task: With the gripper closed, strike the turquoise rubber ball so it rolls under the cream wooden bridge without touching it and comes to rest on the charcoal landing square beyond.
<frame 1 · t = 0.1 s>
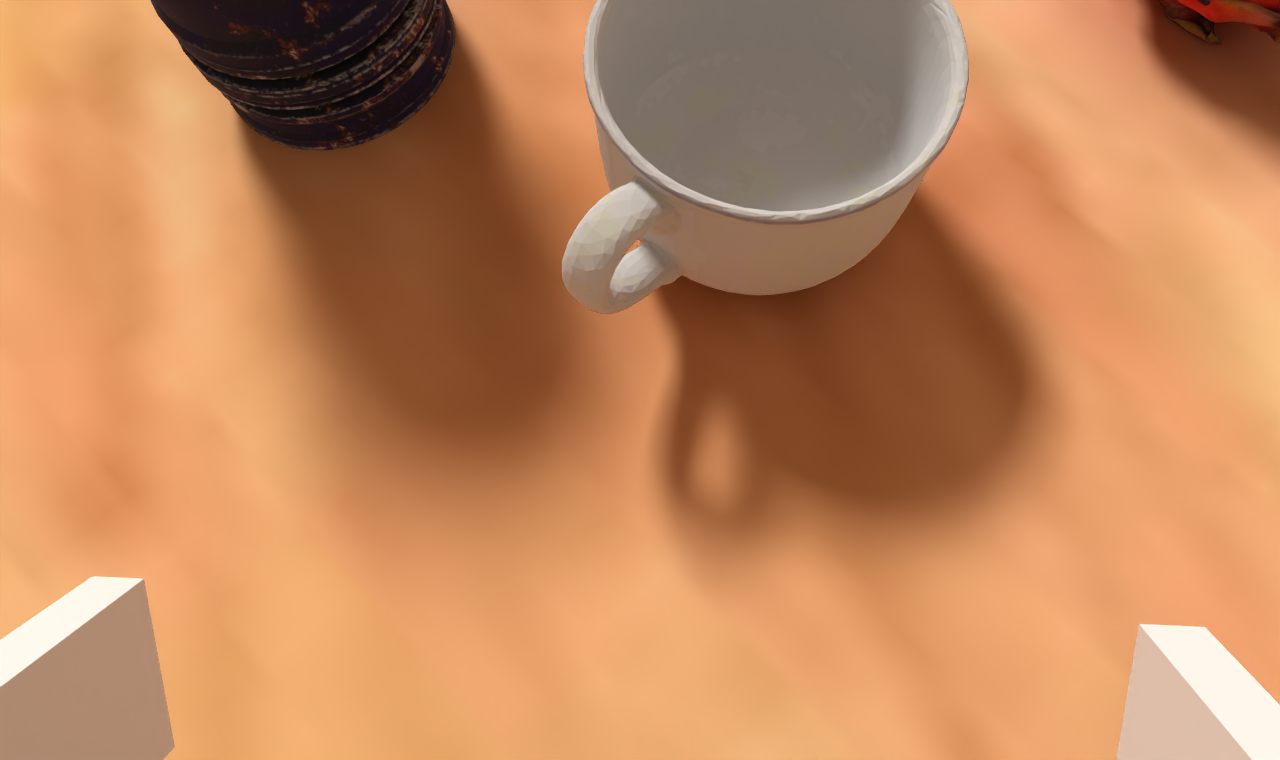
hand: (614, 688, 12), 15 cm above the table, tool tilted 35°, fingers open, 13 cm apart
teacup: (727, 226, 31), on the table
storage jar: (342, 54, 36), on the table
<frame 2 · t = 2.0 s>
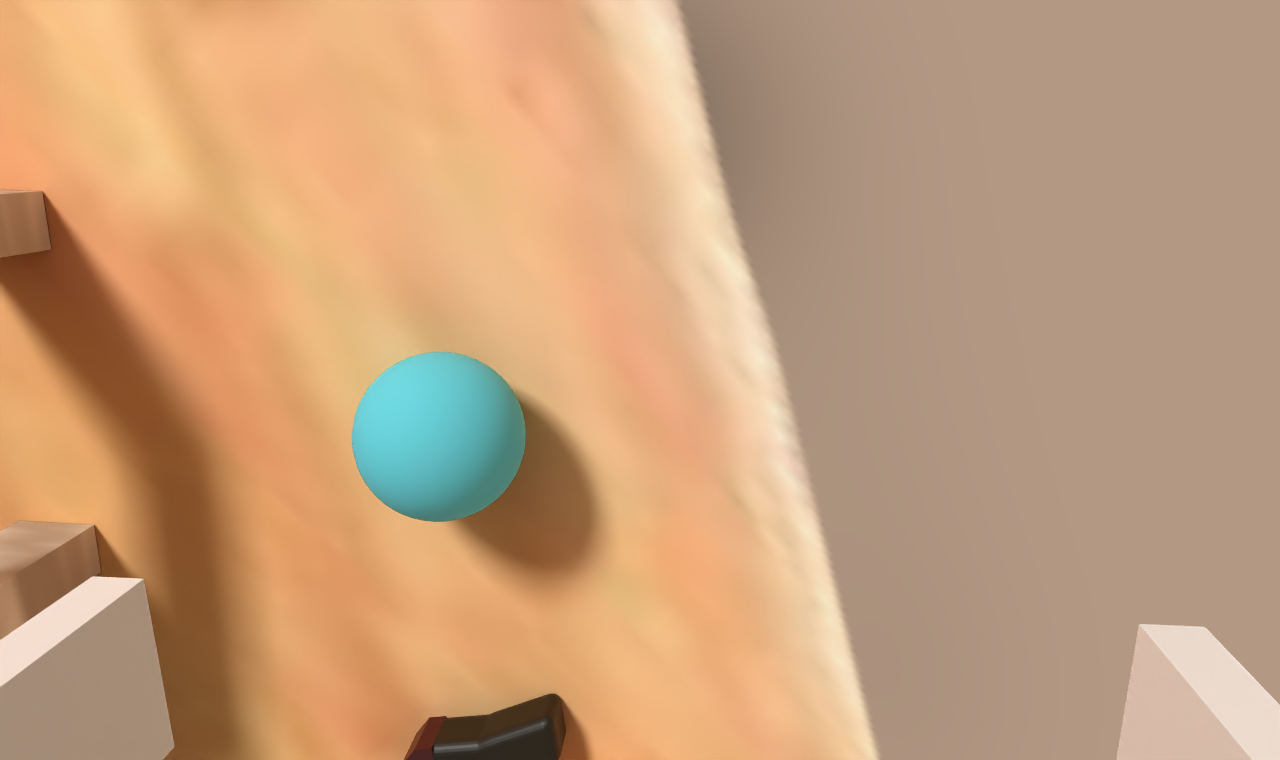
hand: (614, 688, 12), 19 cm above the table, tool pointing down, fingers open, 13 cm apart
ball: (440, 436, 28), on the table
bridge: (34, 391, 32), on the table
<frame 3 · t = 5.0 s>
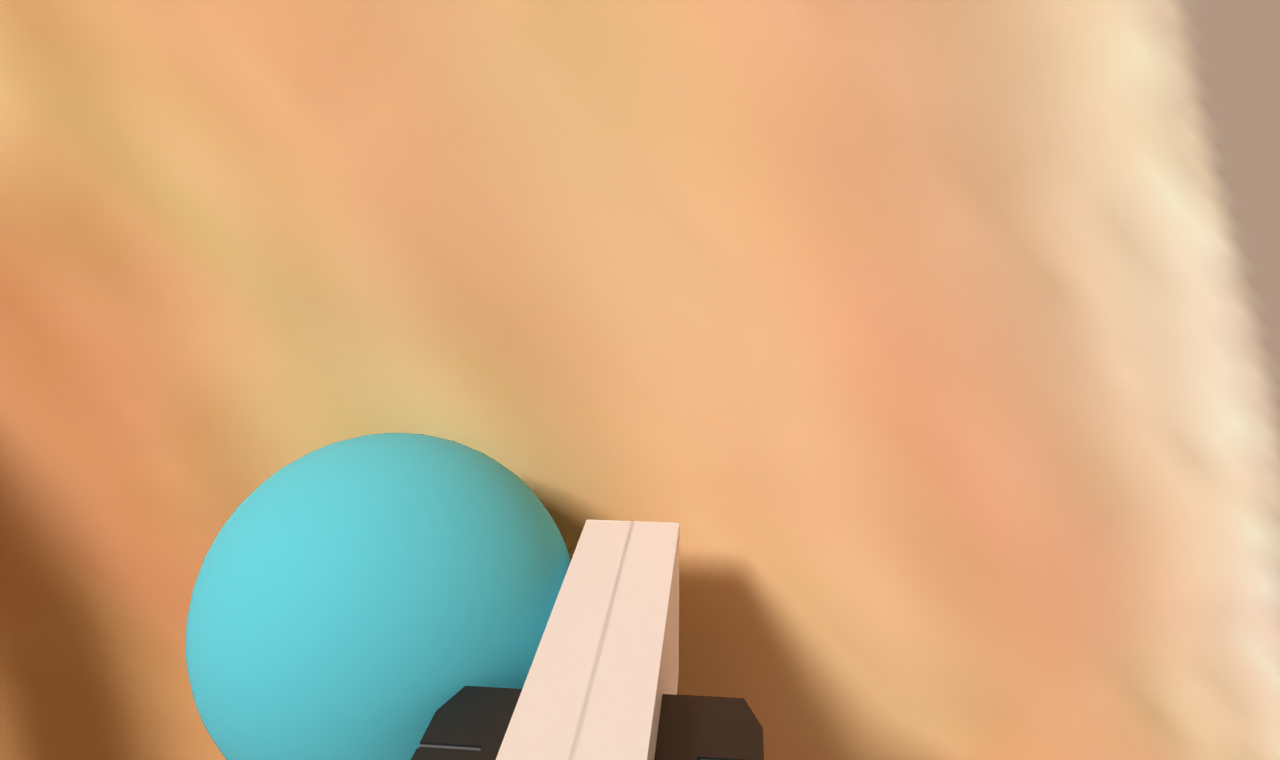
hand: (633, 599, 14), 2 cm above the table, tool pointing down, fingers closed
ball: (394, 617, 13), on the table
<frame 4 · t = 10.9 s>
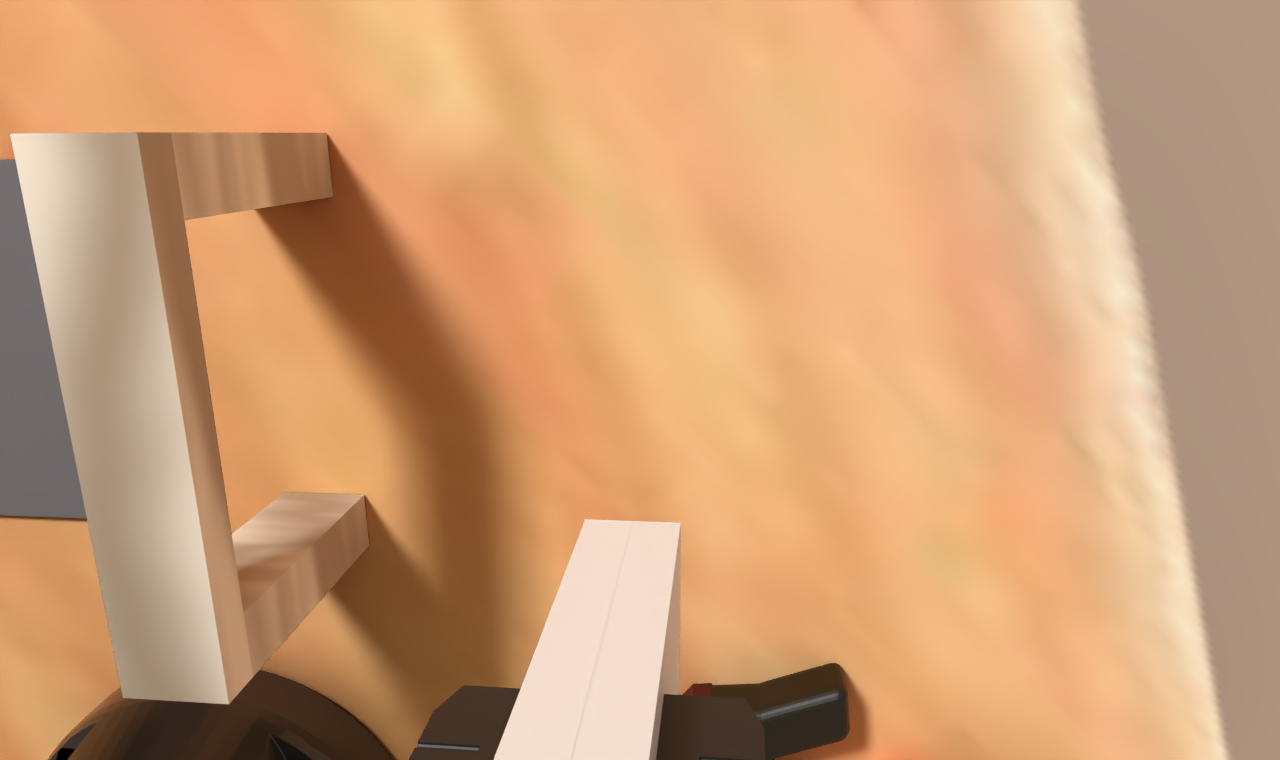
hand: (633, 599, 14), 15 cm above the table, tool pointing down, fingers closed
bridge: (307, 352, 30), on the table
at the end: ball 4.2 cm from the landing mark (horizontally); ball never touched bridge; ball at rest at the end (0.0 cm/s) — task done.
